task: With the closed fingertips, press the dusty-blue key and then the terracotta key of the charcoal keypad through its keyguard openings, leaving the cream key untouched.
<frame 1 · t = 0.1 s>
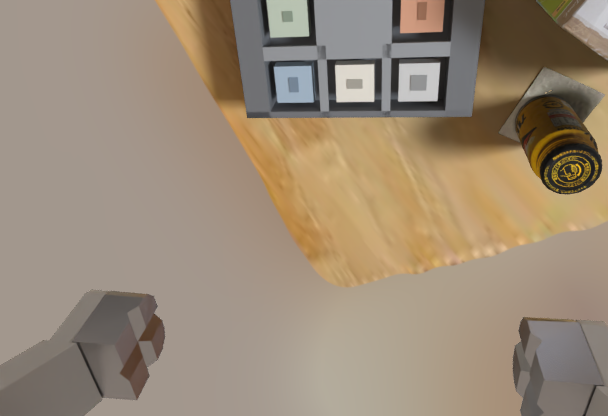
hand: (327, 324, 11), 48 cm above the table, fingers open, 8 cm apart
key blue: (295, 82, 54), point 4 cm above the table, slide at 0.0 cm
key terracotta: (422, 9, 48), point 4 cm above the table, slide at 0.0 cm
condiment: (548, 113, 56), on the table
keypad: (357, 37, 54), on the table
key sage: (289, 14, 50), point 4 cm above the table, slide at 0.0 cm
key grey: (418, 80, 52), point 4 cm above the table, slide at 0.0 cm
key cream: (355, 81, 53), point 4 cm above the table, slide at 0.0 cm
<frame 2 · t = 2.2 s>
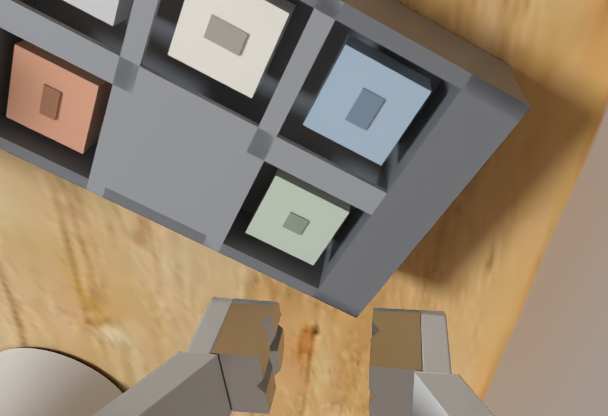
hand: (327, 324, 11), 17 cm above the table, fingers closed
key blue: (365, 102, 22), point 4 cm above the table, slide at 0.0 cm
key terracotta: (59, 96, 24), point 4 cm above the table, slide at 0.0 cm
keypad: (229, 71, 26), on the table
key sage: (297, 215, 26), point 4 cm above the table, slide at 0.0 cm
key cream: (230, 30, 21), point 4 cm above the table, slide at 0.0 cm
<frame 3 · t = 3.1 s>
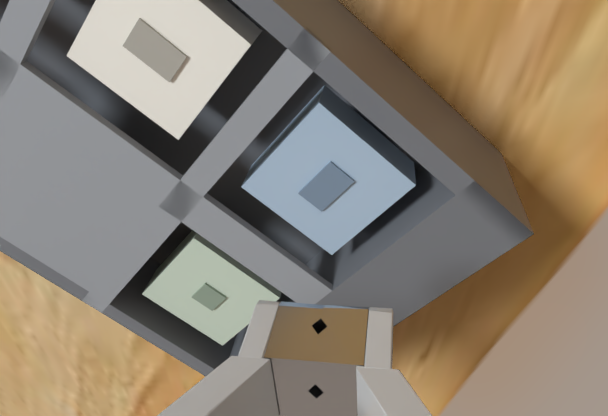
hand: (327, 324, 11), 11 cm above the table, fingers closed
key blue: (328, 175, 17), point 4 cm above the table, slide at 0.0 cm
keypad: (158, 81, 20), on the table
key sage: (214, 284, 20), point 4 cm above the table, slide at 0.0 cm
key cream: (164, 43, 15), point 4 cm above the table, slide at 0.0 cm
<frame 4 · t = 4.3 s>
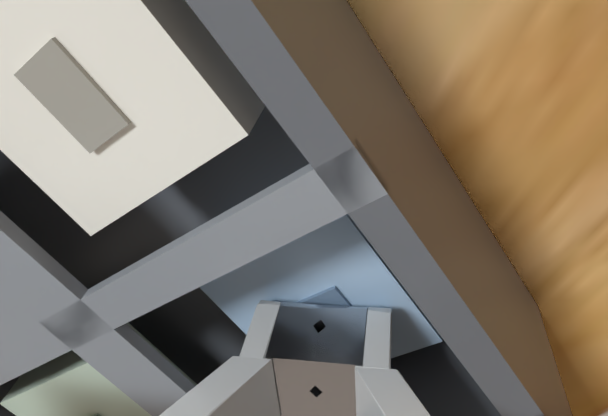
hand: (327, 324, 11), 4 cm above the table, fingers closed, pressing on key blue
key blue: (322, 291, 12), point 3 cm above the table, slide at 1.1 cm, touching gripper
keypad: (90, 100, 13), on the table
key sage: (112, 405, 14), point 4 cm above the table, slide at 0.0 cm
key cream: (97, 82, 9), point 4 cm above the table, slide at 0.0 cm
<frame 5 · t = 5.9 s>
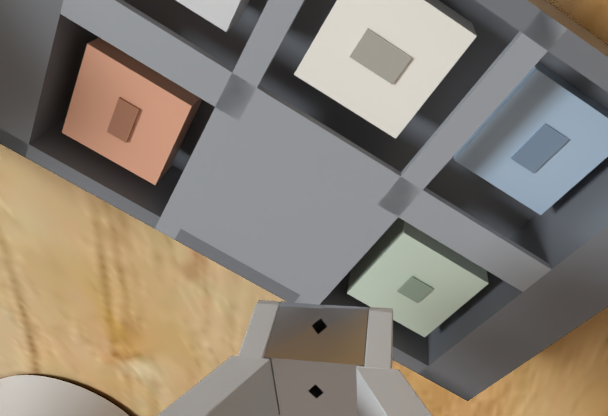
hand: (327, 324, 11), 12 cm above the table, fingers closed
key blue: (535, 139, 18), point 3 cm above the table, slide at 1.2 cm
key terracotta: (132, 112, 19), point 4 cm above the table, slide at 0.0 cm
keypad: (339, 91, 21), on the table
key sage: (414, 277, 21), point 4 cm above the table, slide at 0.0 cm
key cream: (381, 49, 16), point 4 cm above the table, slide at 0.0 cm
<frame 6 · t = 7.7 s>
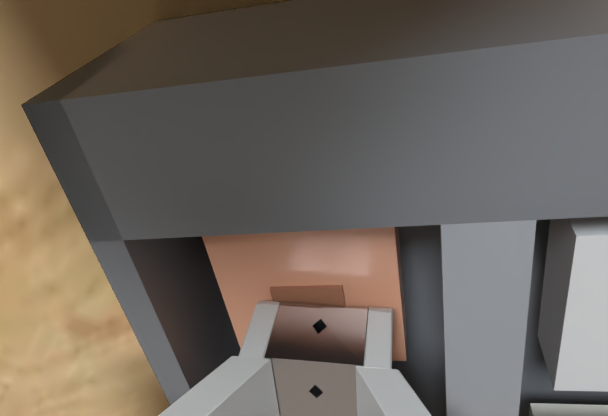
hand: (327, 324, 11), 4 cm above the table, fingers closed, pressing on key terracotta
key terracotta: (313, 278, 12), point 3 cm above the table, slide at 0.7 cm, touching gripper
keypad: (458, 356, 17), on the table
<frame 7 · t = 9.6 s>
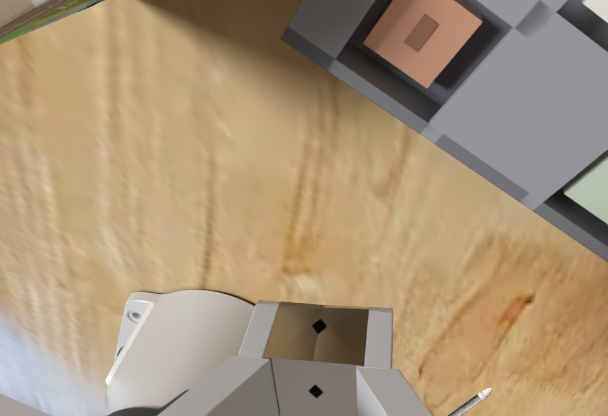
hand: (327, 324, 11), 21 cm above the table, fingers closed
key terracotta: (421, 28, 25), point 3 cm above the table, slide at 1.2 cm, touching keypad
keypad: (565, 29, 26), on the table
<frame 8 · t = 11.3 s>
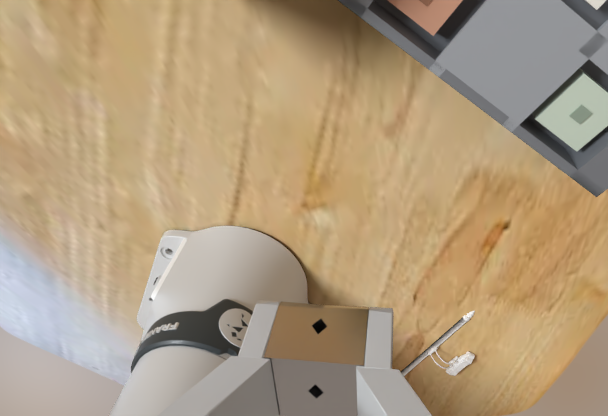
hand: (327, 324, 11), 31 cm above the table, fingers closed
key sage: (577, 110, 34), point 4 cm above the table, slide at 0.0 cm
picture light: (445, 350, 56), on the table
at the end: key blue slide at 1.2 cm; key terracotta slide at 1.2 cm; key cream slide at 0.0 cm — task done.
